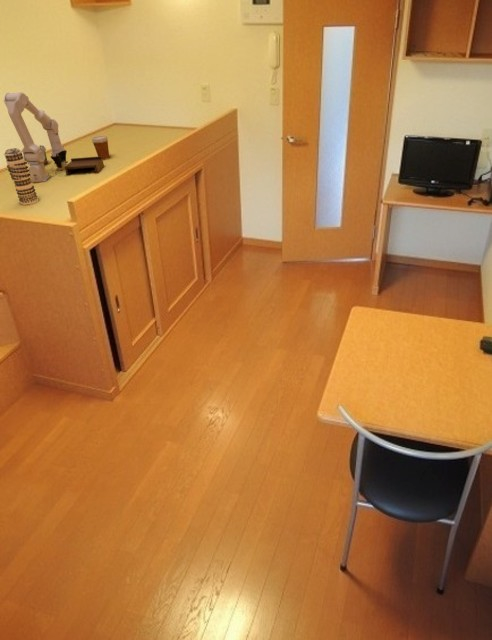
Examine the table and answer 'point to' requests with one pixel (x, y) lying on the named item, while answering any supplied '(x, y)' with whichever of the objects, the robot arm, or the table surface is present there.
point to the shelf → (85, 164)
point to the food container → (44, 154)
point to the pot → (63, 164)
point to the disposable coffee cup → (101, 146)
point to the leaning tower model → (20, 176)
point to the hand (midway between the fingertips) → (62, 165)
